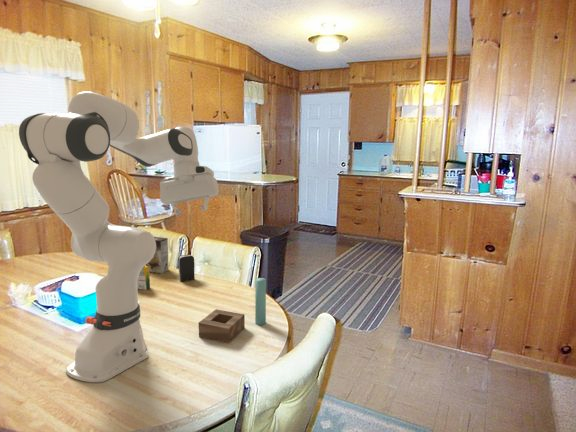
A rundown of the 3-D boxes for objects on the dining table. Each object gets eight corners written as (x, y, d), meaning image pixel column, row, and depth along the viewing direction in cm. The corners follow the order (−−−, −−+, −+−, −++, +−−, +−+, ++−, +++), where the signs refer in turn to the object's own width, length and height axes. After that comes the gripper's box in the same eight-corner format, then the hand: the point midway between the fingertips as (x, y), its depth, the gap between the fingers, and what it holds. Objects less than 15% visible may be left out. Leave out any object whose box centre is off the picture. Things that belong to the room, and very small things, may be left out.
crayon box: (150, 287, 171) (149, 261, 169) (146, 290, 168) (144, 263, 166) (135, 285, 173) (134, 260, 171) (131, 288, 170) (129, 262, 168)
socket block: (228, 343, 126) (228, 328, 125) (199, 336, 130) (198, 322, 129) (244, 328, 136) (244, 314, 135) (216, 322, 140) (216, 309, 139)
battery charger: (192, 276, 185) (191, 253, 182) (195, 279, 181) (194, 255, 179) (177, 279, 181) (176, 255, 179) (180, 282, 178) (179, 257, 176)
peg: (263, 326, 138) (263, 282, 134) (253, 324, 139) (253, 280, 136) (267, 321, 141) (267, 278, 138) (258, 320, 142) (257, 277, 139)
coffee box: (145, 271, 191) (143, 239, 188) (153, 267, 197) (151, 235, 194) (161, 273, 188) (159, 240, 185) (169, 269, 194) (167, 237, 191)
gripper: (155, 176, 137) (158, 216, 134) (211, 166, 134) (216, 206, 131) (163, 181, 143) (166, 218, 140) (218, 171, 140) (222, 209, 138)
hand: (191, 212), depth 136 cm, fingers open, 8 cm apart
